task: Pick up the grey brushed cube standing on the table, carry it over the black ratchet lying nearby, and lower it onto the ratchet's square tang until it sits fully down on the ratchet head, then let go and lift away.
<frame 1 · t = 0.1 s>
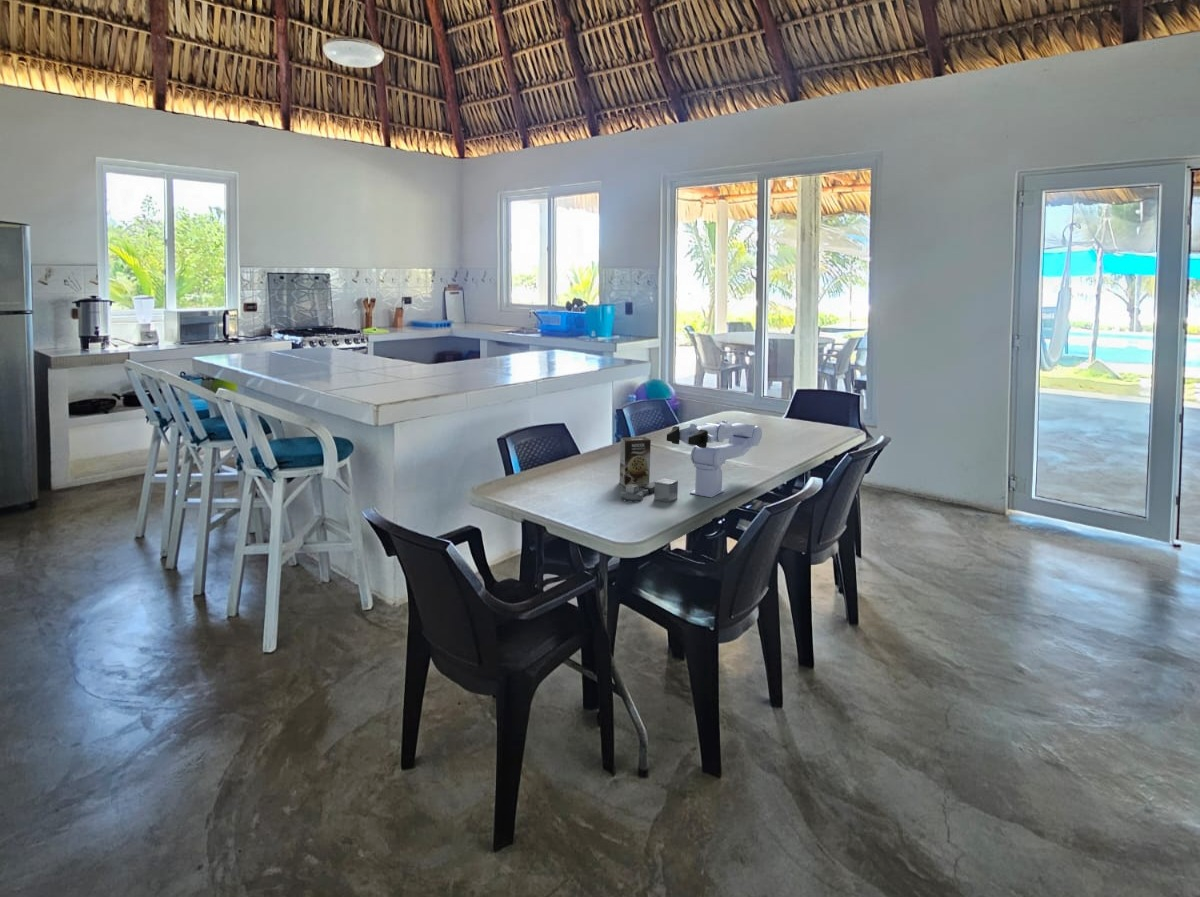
hand: (678, 439, 238), 22 cm above the table, fingers open, 7 cm apart
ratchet: (632, 498, 251), on the table
grey brushed cube: (665, 499, 251), on the table
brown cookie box: (634, 484, 268), on the table
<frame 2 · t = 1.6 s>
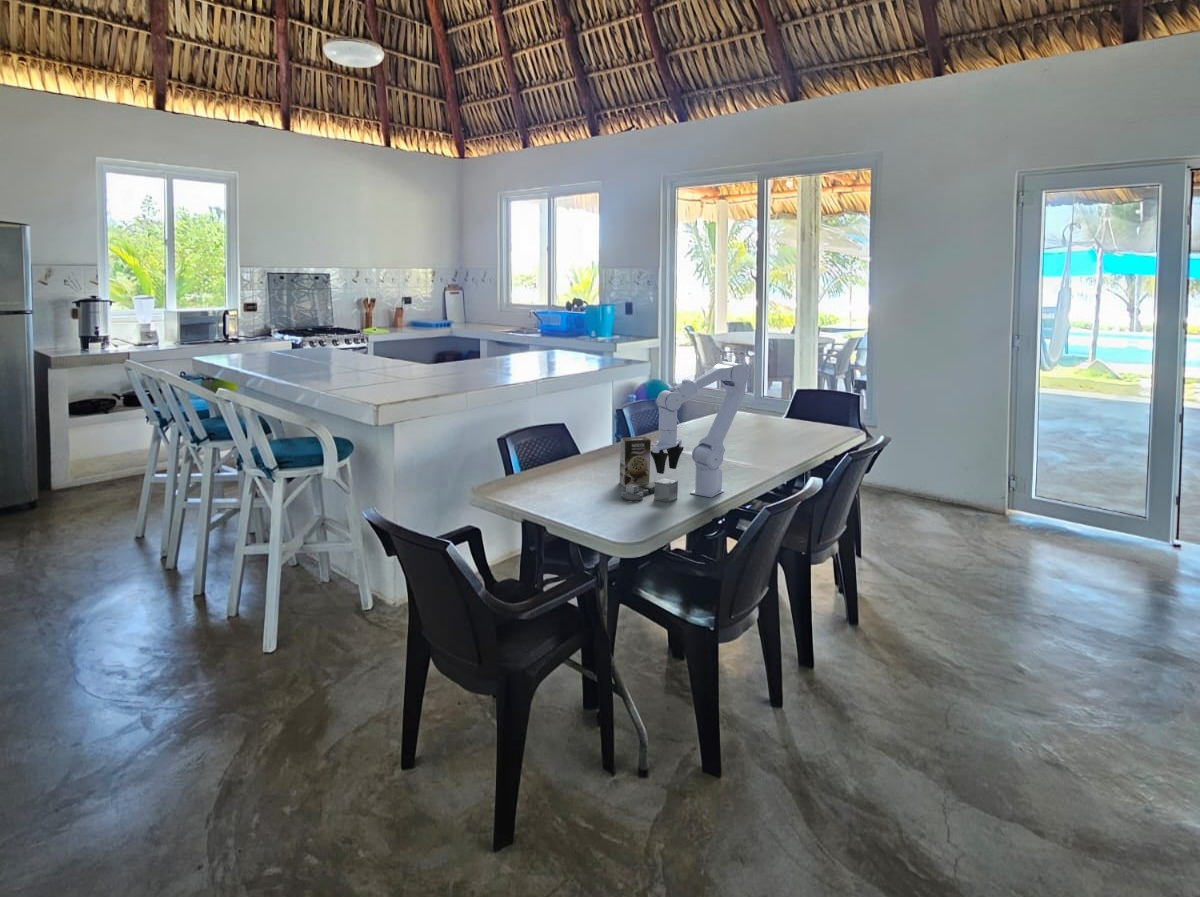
hand: (666, 470, 249), 9 cm above the table, fingers open, 7 cm apart
nothing on the table moved.
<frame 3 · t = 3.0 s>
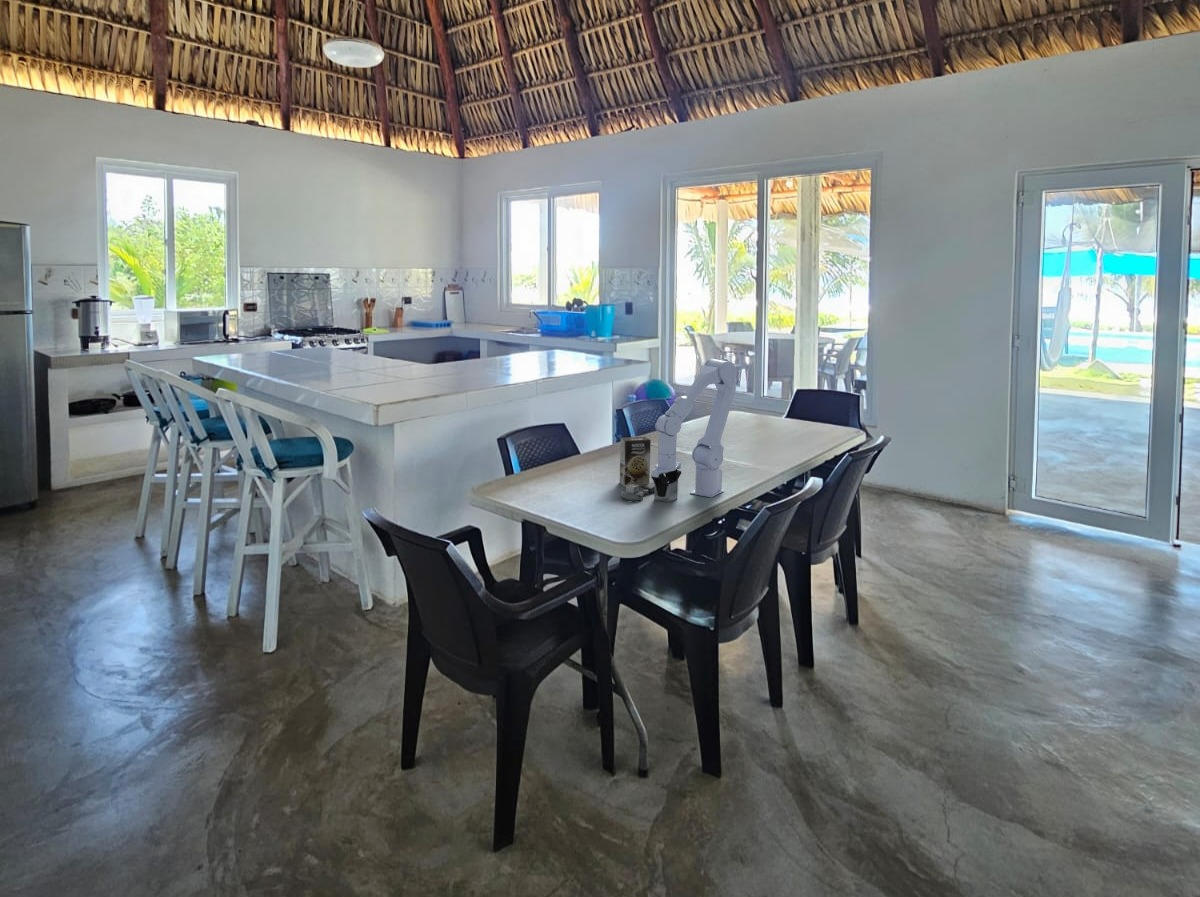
hand: (665, 494, 251), 2 cm above the table, fingers closed on grey brushed cube, 5 cm apart
grey brushed cube: (665, 499, 251), on the table, touching gripper
everything else where it was.
when the fingers open (4 cm above the table, at t = 6.4 s): grey brushed cube stays where it is, resting on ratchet.
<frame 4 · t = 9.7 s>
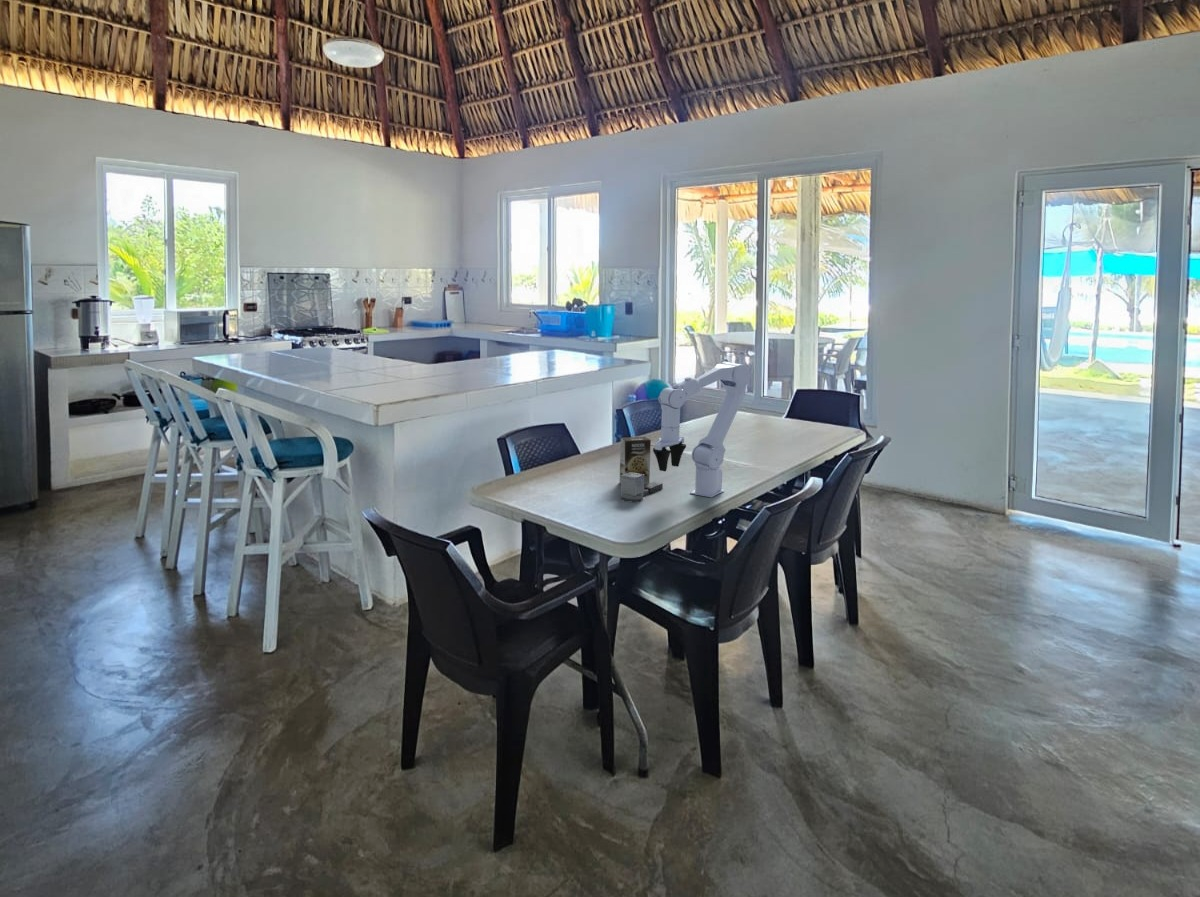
hand: (669, 468, 248), 10 cm above the table, fingers open, 7 cm apart
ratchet: (632, 498, 251), on the table, touching grey brushed cube
grey brushed cube: (632, 493, 251), point 2 cm above the table, touching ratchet
everything else where it was.
at the end: grey brushed cube 0.1 cm from the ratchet (horizontally); grey brushed cube point 1.9 cm above the table; grey brushed cube tilted 0° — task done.
